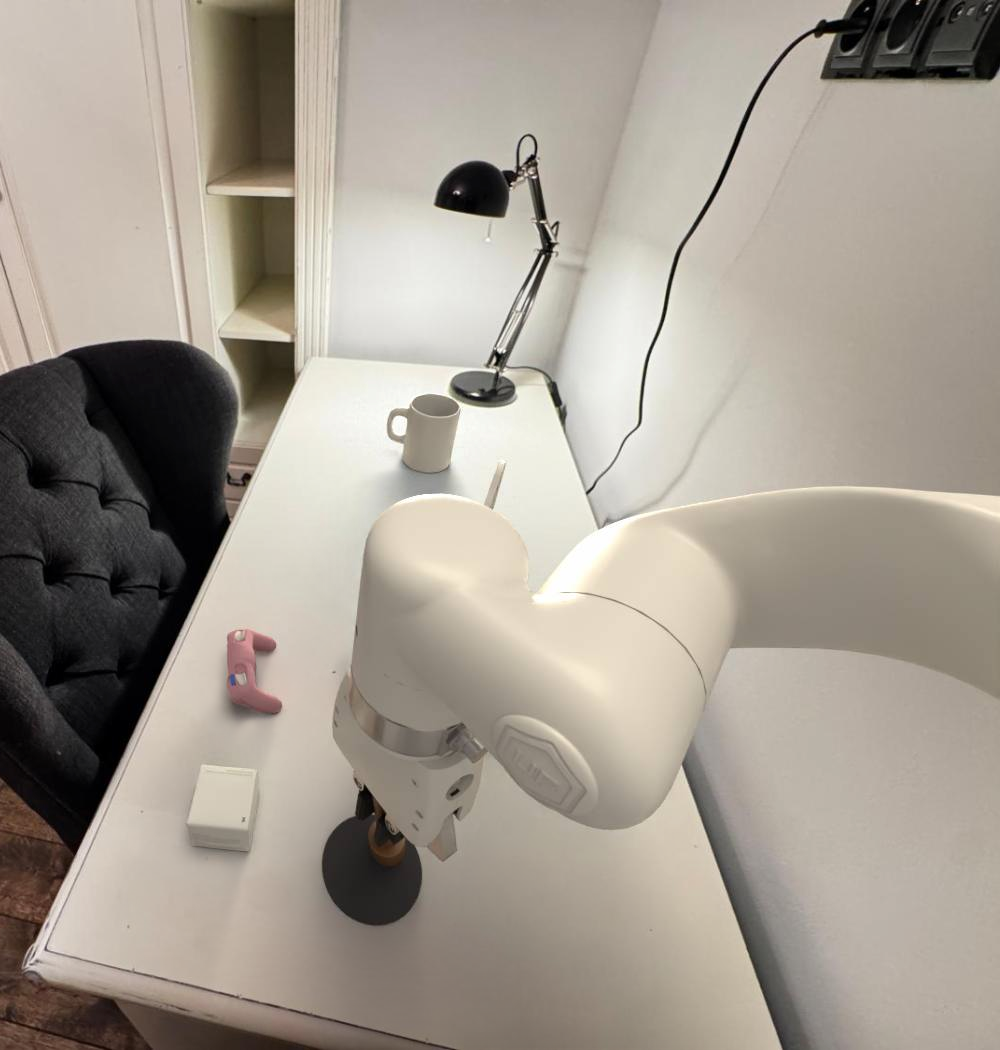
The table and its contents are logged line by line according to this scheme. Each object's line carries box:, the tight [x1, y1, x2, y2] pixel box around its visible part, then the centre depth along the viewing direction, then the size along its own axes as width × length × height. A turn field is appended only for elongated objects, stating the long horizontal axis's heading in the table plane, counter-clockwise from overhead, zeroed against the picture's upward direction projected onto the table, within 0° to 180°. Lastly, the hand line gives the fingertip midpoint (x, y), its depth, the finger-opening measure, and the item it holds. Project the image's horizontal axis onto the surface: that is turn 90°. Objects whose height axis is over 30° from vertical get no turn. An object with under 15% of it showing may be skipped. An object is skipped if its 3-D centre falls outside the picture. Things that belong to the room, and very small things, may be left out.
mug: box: [386, 393, 462, 474], centre depth 99 cm, size 12×8×11 cm
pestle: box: [368, 795, 406, 866], centre depth 46 cm, size 3×3×14 cm
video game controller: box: [226, 628, 283, 714], centre depth 65 cm, size 10×5×7 cm, turn 6°
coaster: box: [321, 814, 423, 926], centre depth 52 cm, size 9×9×1 cm
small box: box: [185, 764, 260, 852], centre depth 53 cm, size 6×6×5 cm
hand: (381, 819), depth 45 cm, fingers closed on pestle
